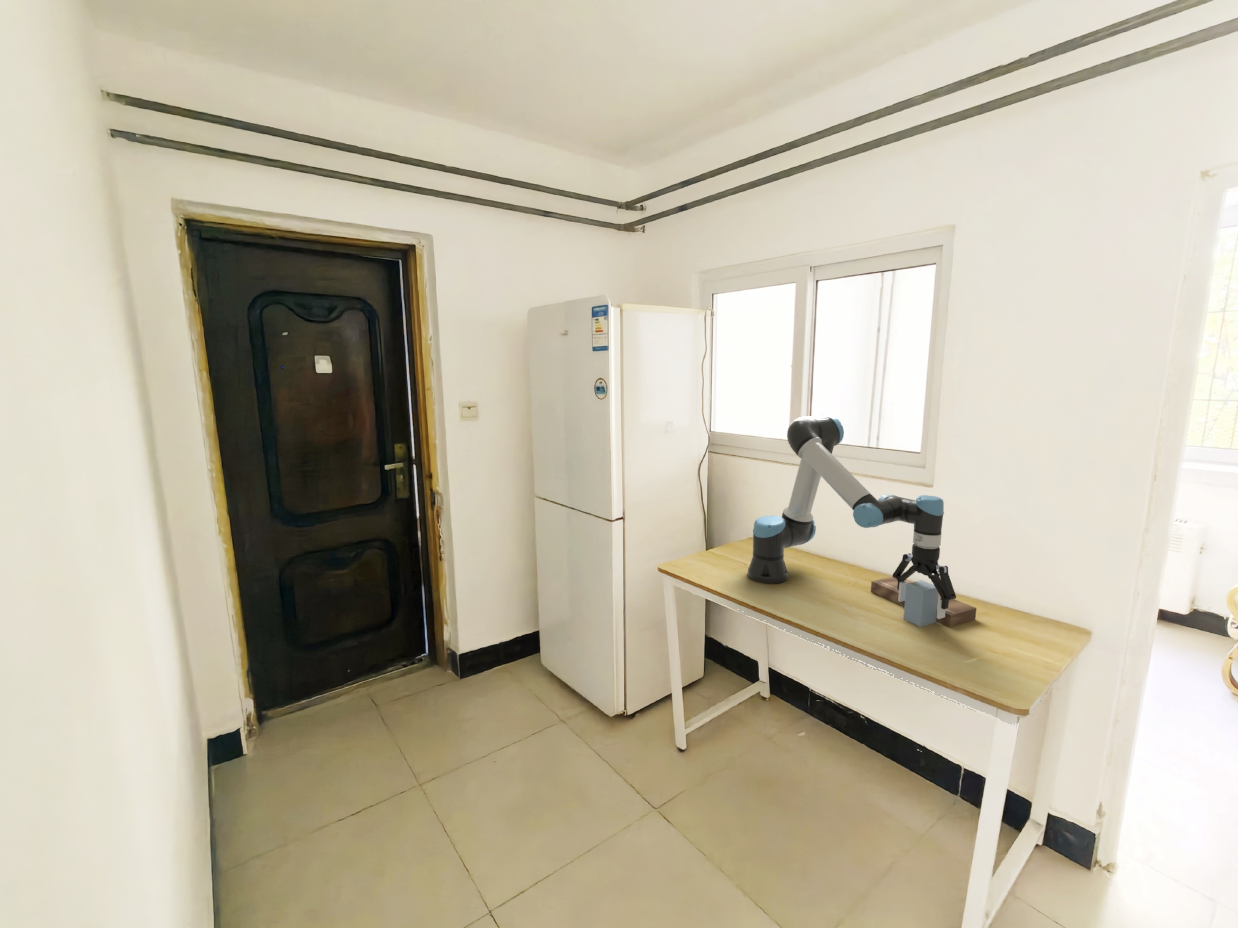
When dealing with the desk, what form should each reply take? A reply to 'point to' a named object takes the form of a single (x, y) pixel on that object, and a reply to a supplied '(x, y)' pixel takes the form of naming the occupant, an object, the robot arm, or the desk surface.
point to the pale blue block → (920, 603)
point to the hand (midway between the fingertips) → (920, 608)
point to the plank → (953, 614)
